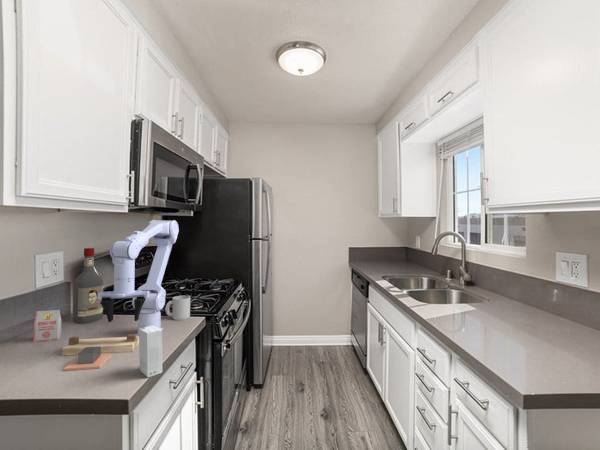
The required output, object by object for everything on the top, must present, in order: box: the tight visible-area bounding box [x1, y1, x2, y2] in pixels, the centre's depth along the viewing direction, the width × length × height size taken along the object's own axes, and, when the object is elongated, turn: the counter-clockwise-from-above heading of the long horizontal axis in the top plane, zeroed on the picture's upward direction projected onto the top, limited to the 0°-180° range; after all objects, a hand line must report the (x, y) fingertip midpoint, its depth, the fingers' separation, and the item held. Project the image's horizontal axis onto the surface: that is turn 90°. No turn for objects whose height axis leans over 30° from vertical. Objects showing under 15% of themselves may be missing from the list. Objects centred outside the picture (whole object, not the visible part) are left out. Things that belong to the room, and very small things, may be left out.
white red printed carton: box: [32, 309, 62, 342], centre depth 108 cm, size 4×7×10 cm, turn 111°
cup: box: [165, 295, 191, 321], centre depth 134 cm, size 7×10×9 cm
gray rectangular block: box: [77, 346, 102, 364], centre depth 92 cm, size 5×4×3 cm
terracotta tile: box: [63, 353, 113, 372], centre depth 92 cm, size 9×9×1 cm
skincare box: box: [138, 325, 163, 378], centre depth 87 cm, size 6×4×12 cm
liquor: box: [72, 247, 104, 324], centre depth 130 cm, size 9×9×30 cm
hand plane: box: [61, 333, 139, 356], centre depth 101 cm, size 8×20×4 cm, turn 102°
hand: (123, 320), depth 100 cm, fingers open, 7 cm apart
